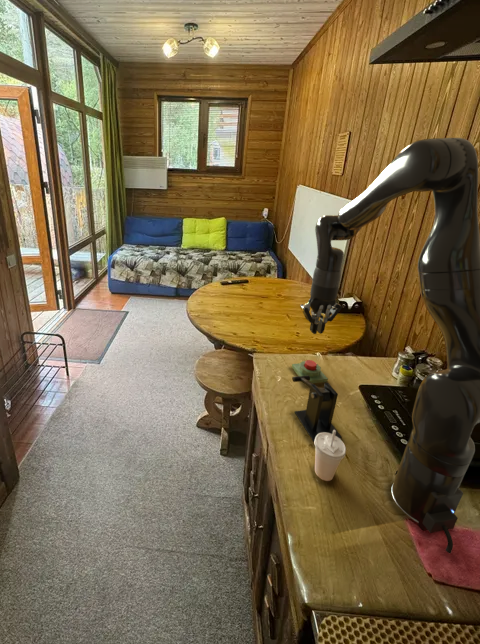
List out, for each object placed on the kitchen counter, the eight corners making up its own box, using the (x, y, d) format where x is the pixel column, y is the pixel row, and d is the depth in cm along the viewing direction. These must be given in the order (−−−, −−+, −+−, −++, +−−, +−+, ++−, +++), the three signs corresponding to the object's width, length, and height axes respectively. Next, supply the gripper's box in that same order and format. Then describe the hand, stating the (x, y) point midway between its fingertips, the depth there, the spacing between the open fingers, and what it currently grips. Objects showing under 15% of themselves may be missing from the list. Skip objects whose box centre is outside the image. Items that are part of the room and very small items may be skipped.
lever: (292, 382, 91) (292, 374, 91) (307, 380, 92) (307, 373, 92) (317, 402, 78) (317, 393, 78) (335, 400, 79) (335, 391, 79)
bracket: (293, 414, 88) (300, 377, 83) (319, 411, 89) (327, 375, 85) (312, 444, 78) (320, 404, 74) (340, 440, 80) (350, 401, 75)
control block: (327, 384, 100) (329, 374, 99) (304, 386, 99) (306, 376, 97) (312, 367, 109) (314, 357, 107) (291, 369, 107) (292, 359, 106)
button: (318, 370, 101) (318, 366, 101) (308, 371, 100) (308, 367, 100) (312, 363, 104) (313, 359, 104) (302, 364, 104) (303, 360, 103)
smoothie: (311, 487, 68) (322, 439, 63) (305, 460, 74) (314, 415, 69) (342, 491, 67) (354, 443, 62) (333, 464, 73) (344, 418, 68)
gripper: (311, 287, 88) (302, 340, 93) (354, 285, 90) (343, 337, 96) (298, 278, 95) (291, 328, 100) (338, 276, 97) (329, 325, 103)
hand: (316, 332), depth 98 cm, fingers closed
